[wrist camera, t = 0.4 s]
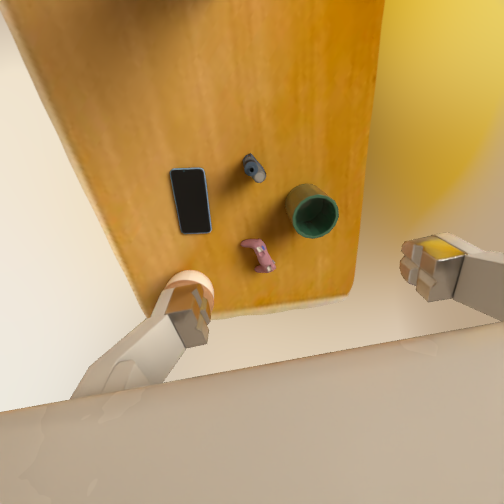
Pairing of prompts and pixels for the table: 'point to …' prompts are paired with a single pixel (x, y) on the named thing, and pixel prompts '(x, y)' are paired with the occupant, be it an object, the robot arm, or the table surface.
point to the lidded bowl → (193, 278)
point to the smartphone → (191, 200)
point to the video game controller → (260, 255)
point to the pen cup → (311, 211)
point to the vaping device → (254, 168)
